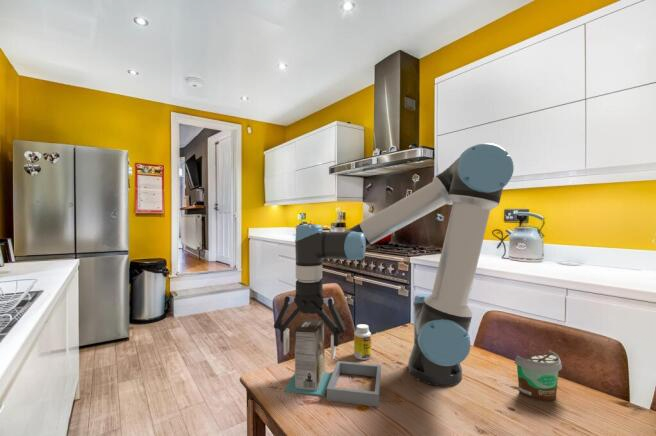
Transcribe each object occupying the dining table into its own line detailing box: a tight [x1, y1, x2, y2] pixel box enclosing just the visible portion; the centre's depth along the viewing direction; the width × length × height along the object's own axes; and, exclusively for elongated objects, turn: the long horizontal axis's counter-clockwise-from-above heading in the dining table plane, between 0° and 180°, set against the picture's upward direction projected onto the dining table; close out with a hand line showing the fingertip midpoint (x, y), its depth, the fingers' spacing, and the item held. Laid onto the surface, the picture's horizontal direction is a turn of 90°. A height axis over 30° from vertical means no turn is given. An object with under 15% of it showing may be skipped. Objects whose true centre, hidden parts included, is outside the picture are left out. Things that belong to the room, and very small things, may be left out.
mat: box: [283, 372, 333, 397], centre depth 85 cm, size 11×11×1 cm
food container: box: [514, 349, 563, 402], centre depth 78 cm, size 12×6×10 cm, turn 105°
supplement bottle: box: [353, 323, 372, 361], centre depth 101 cm, size 6×6×10 cm
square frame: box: [326, 360, 382, 408], centre depth 83 cm, size 13×15×3 cm
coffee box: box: [294, 318, 326, 391], centre depth 85 cm, size 9×6×16 cm
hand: (309, 355), depth 85 cm, fingers open, 13 cm apart
